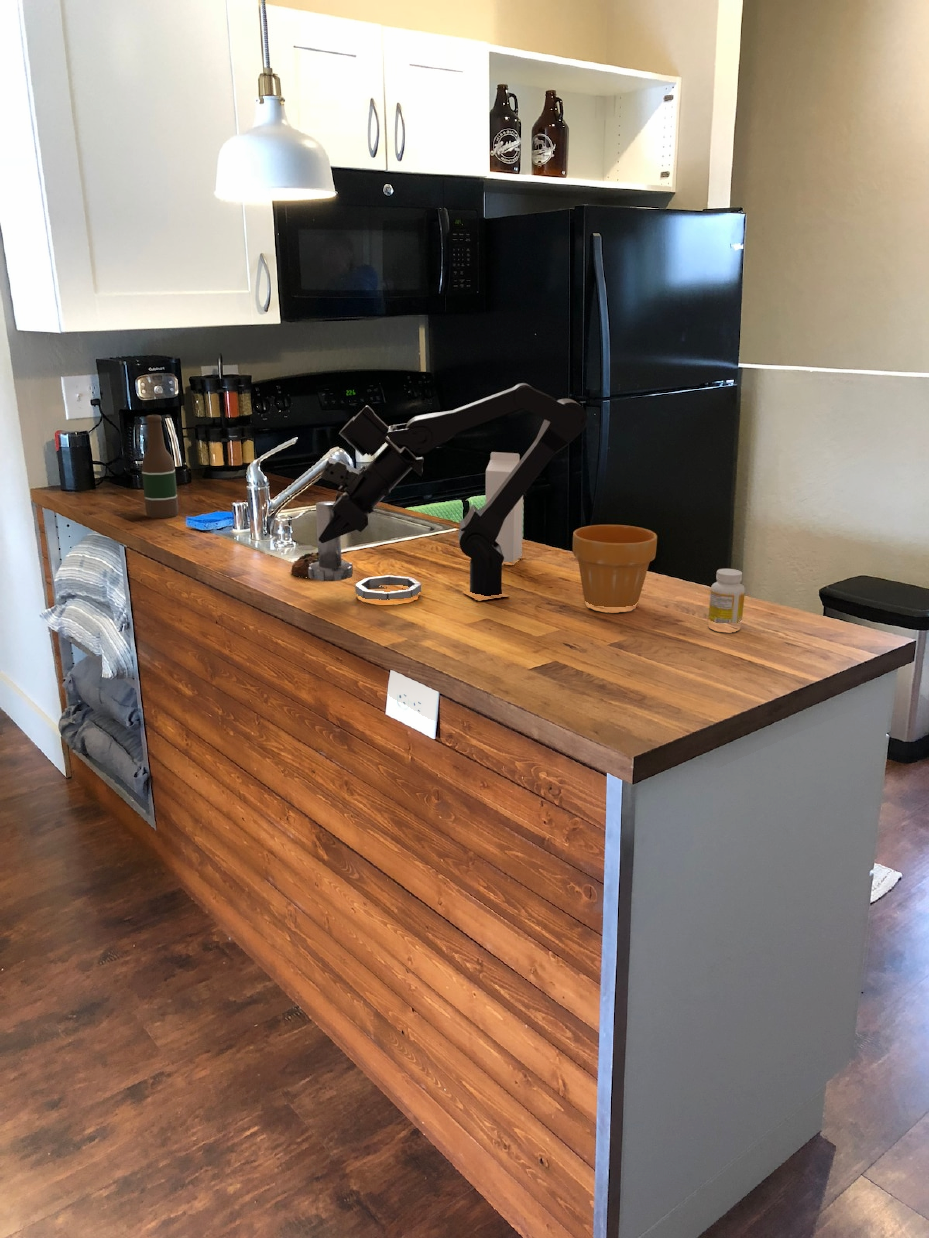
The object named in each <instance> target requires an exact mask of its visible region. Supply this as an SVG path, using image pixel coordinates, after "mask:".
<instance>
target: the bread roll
mask: <svg viewBox="0 0 929 1238" xmlns="http://www.w3.org/2000/svg"><path fill="white" fill-rule="evenodd" d="M341 559H342V560H343V561H346V560H344V558H342V557H341ZM315 562H319V556H318V551H317V552H311V553H310V552H307V553H304V555H301V556H300V557H299V558H297V560H296V561H295V562H294V563H293V564H292V565H291V570H290V573H292V575H293V574H294V576H296V577H299V576H300V577H299V578H302V577H304V578H305V577H307V578H309V575H308V567H309V564H311V563H315ZM307 578H306V579H307Z"/></svg>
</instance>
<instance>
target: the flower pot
mask: <svg viewBox="0 0 929 1238" xmlns="http://www.w3.org/2000/svg"><path fill="white" fill-rule="evenodd" d="M572 534H573V535H572V554H573V557H575V558H576V559H577V562H578V568H579V575H580V582H581V588H582V594H583V598H584V602H585V601H586V602H588V603H589V604H592V605H594V606H604V607H626V606H633V605H635V604H636V603H637V602H638V603H639V600H640V596H641V593H642V590H643V587H644V583H645V579H646V576H647V572H648V569H649V565H650V562H652V561H654V560H655V559H656V553H657V544H658V535H657V533H655V532H654V531H653V530H650V529H647V528H644V527H638V526H633V525H632V526H631V525H625V524H623V525H622V524H594V525H587V526H583V527H579V528H577V529H575V530H574V531H573V533H572Z"/></svg>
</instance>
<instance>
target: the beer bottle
mask: <svg viewBox="0 0 929 1238" xmlns="http://www.w3.org/2000/svg"><path fill="white" fill-rule="evenodd" d="M162 420H163V419H162V416H161V415H159V414H150V415H146V417H145V422H146V425H147V429H146V430H147V450H146V452H145V454H144V456H143V458H142V460H141V461H142V462H141V476H142V485H143V497H144V498H143V499H144V504H145V505H144V506H145V514H146V517H147V518H151V519H170V518H173V517H177V516H178V514H179V499H178V488H177V478H176V469H175V468H176V467H175V461H174V459H173V458H172V455H171V454H170V452H169V450H167V449H166V445H165V440H164V439H165V438H164V433H163V427H162Z"/></svg>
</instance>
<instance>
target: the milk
mask: <svg viewBox="0 0 929 1238" xmlns="http://www.w3.org/2000/svg"><path fill="white" fill-rule="evenodd" d="M520 457H521V456H520V454H519V453H518V452H517V453H514V452H497V451H491V453H490V460H489V462H488V465H487V467H486V469H485V504H487V503H488V502H489V501H490V499H491V498H492V497H493V495H494V494H495V493H496V491H497V490H498V489H499V487H500V486H501V485H502V483H503V482H504V481H505V480H506V478H507V477H508V476H509V474H510V473H511V472H512V470H513V469H514V468H515V466H516V465H517V464H518V462H519V461H520ZM523 502H524V495H523V496H522V497H521V499H520V500H519V501H518V502H517V504H516V505H515V506H514V508H513V509H512V510H511V512H510V513H509V514H508V515H507V517H506V518H505V520H504V522H503V525H502V527H501V530H500V532H499V535H498V537H497V539H496V542H497V543H498V544H499V545H500V547H501V550H502V553H503V556H504V560H503V562H514V561H516V560H517V559H518V558H520V557H521V556H523V555H522V554H523V551H522V550H523V549H522V548H523V511H524V504H523Z"/></svg>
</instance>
